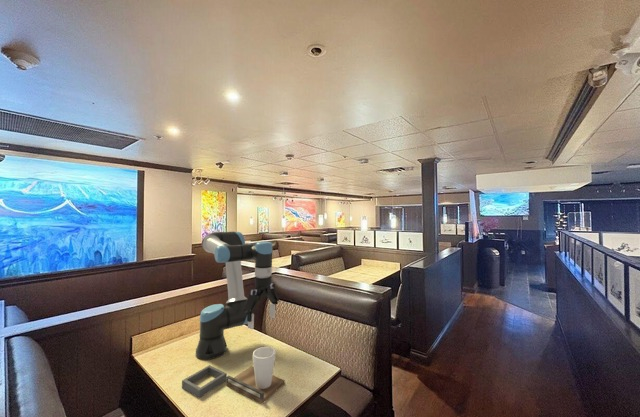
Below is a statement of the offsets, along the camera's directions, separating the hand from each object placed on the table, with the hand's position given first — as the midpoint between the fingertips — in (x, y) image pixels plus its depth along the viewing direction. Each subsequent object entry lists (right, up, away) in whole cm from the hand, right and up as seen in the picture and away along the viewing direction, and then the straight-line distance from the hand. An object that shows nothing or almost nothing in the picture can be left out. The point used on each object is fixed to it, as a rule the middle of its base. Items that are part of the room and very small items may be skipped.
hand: (261, 322), depth 117 cm
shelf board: (-1, -23, -7) cm, 24 cm away
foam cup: (+3, -22, -9) cm, 24 cm away
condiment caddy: (-23, -23, -7) cm, 33 cm away
